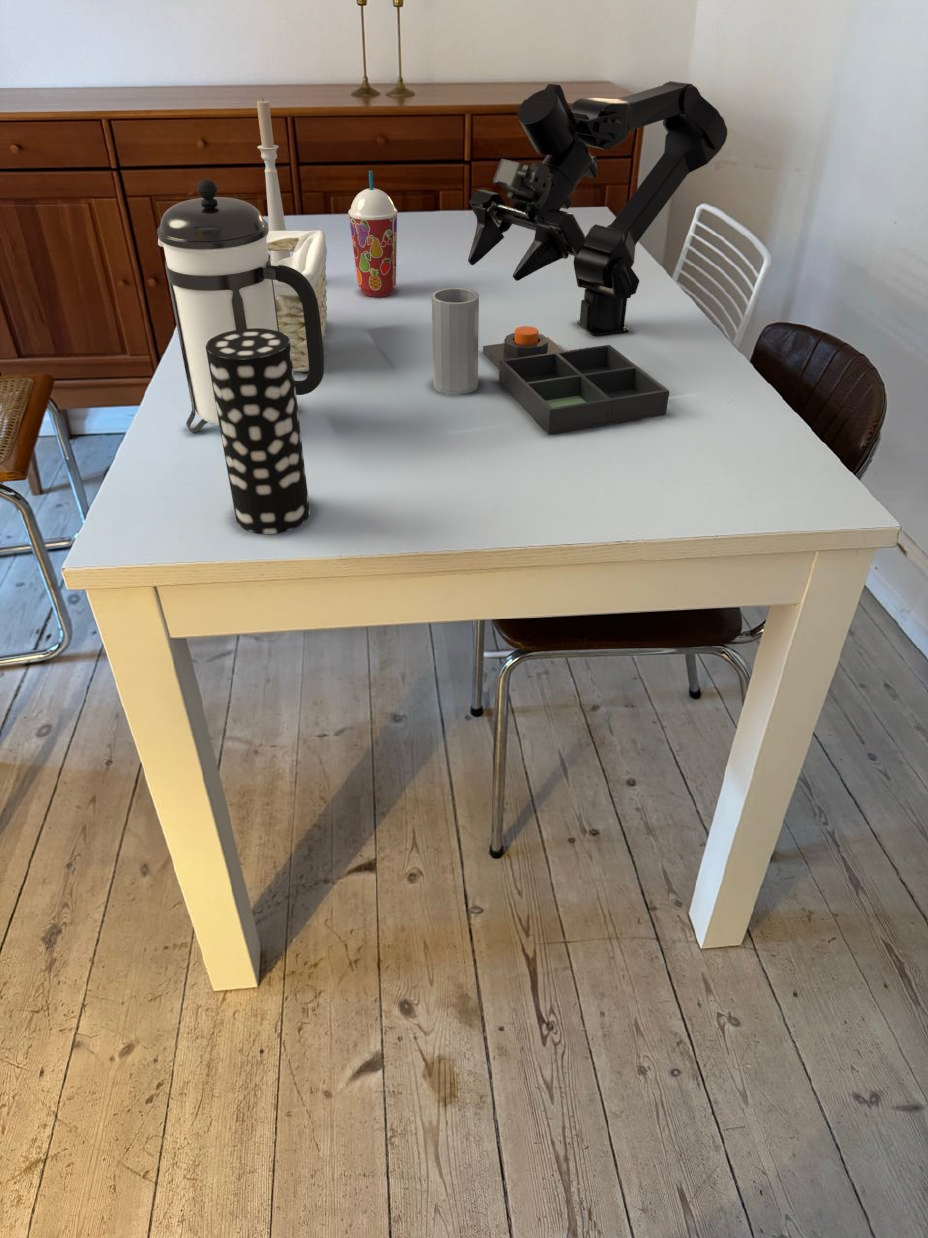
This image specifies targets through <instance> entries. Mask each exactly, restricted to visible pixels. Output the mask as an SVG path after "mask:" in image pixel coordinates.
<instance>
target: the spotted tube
mask: <svg viewBox="0 0 928 1238" xmlns="http://www.w3.org/2000/svg"><path fill="white" fill-rule="evenodd" d="M206 352H207V358H208V364H209V369H210V375H211V381H212V386H213V392H214V398H215V403H216V409H217V415H218V420H219V426H218V427H219V432H220V436H221V442H222V448H223V453H224V459H225V465H226V471H227V477H228V483H229V488H230V493H231V499H232V504H233V510H234V516H235V521H236V523H237V525H238V526H239V527H240V528H242V529H243V530H245V531H247V532H250V533H253V534H259V535H260V534H262V535H272V534H273V535H274V534H281V533H285V532H289V531H292V530H294V529H296V528H299V527H300V526H302V525H303V524H304V523H306V522H307V520H308V518H309V517H310V514H311V508H310V501H309V491H308V483H307V474H306V466H305V459H304V457H305V456H304V449H303V442H302V441H303V440H302V434H301V433H302V432H301V424H300V415H299V409H298V400H297V399H298V398H297V395H296V389H295V381H296V380H295V373H294V372H295V371H294V372H293V364H292V355H291V347H290V339H289V338H288V336H287V335H285V334H284V333H281V332H279V331H275V330H270V329H261V328H249V329H239V330H233V331H228V332H225V333H222V334H219V335H217V336H215V337H213V338H211V339H210V340H209V341H208V342H207V344H206ZM294 380H295V381H294Z"/></svg>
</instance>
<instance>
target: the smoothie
mask: <svg viewBox="0 0 928 1238" xmlns="http://www.w3.org/2000/svg"><path fill="white" fill-rule="evenodd" d="M373 172H374V171H373V170H368V184H369V188H366V189H362V190H361V191H360V192H359V193H357V194H356V196H355V197H354V199H353V201H352V203H351V206H350V209H348V218H349V225H350V226H349V227H350V234H351V241H352V247H353V248H352V249H353V256H354V264H355V271H356V278H357V279H356V280H357V286H358V287H359V288H360V291H361V293H362V295H365V296H367V297H371V298H382V297H383V298H384V297H387V296H389V295H391V294H392V293H394V287H396V285H397V253H398V252H397V249H398V248H397V247H398V246H397V243H398V241H397V240H398V239H397V238H398V209H397V207H395V204H394V202H393V200H392V199H391V197H390V196H389V195H388V194H387V192H385V191H383V190H381V189H378V188H376V187H374V174H373Z"/></svg>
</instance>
